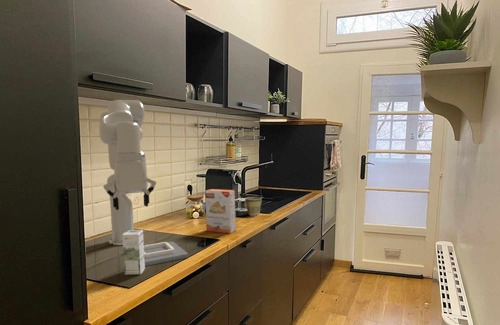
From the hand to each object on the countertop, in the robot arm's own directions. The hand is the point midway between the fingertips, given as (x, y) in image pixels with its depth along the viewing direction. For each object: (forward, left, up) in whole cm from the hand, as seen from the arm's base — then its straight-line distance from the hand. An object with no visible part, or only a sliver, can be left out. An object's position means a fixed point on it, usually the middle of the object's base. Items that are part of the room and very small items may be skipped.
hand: (131, 207), depth 118 cm
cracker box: (-32, +48, -23) cm, 62 cm away
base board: (-14, +11, -23) cm, 29 cm away
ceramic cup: (-57, +82, -23) cm, 103 cm away
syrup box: (0, 0, -23) cm, 23 cm away
